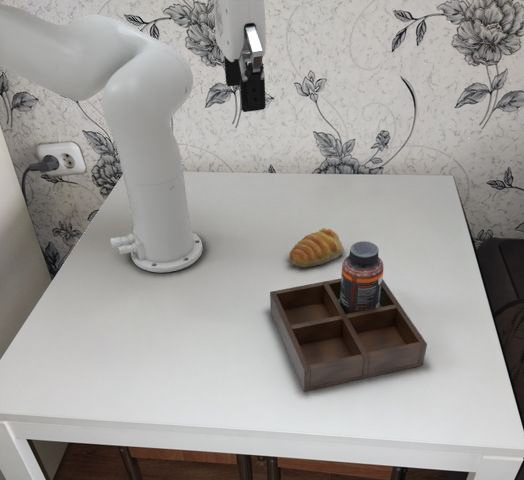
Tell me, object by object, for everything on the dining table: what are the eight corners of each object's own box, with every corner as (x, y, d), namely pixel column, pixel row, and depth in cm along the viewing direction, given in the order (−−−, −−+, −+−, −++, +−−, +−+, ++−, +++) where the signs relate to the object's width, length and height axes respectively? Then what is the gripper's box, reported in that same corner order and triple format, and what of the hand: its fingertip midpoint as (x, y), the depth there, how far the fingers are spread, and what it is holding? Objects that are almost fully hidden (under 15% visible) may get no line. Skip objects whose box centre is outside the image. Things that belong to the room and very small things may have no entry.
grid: (304, 391, 80) (304, 370, 77) (270, 312, 92) (269, 291, 89) (422, 365, 83) (427, 344, 80) (374, 291, 95) (377, 271, 92)
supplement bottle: (386, 313, 90) (395, 251, 82) (356, 328, 87) (362, 266, 80) (360, 293, 93) (366, 232, 86) (331, 308, 91) (334, 246, 83)
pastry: (305, 276, 98) (306, 257, 96) (279, 259, 102) (279, 240, 100) (346, 254, 103) (347, 236, 100) (319, 239, 106) (320, 220, 104)
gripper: (193, -60, 76) (207, 79, 88) (220, -32, 64) (232, 125, 75) (250, -65, 77) (256, 73, 89) (287, -38, 65) (288, 117, 77)
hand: (245, 96), depth 82 cm, fingers open, 9 cm apart
